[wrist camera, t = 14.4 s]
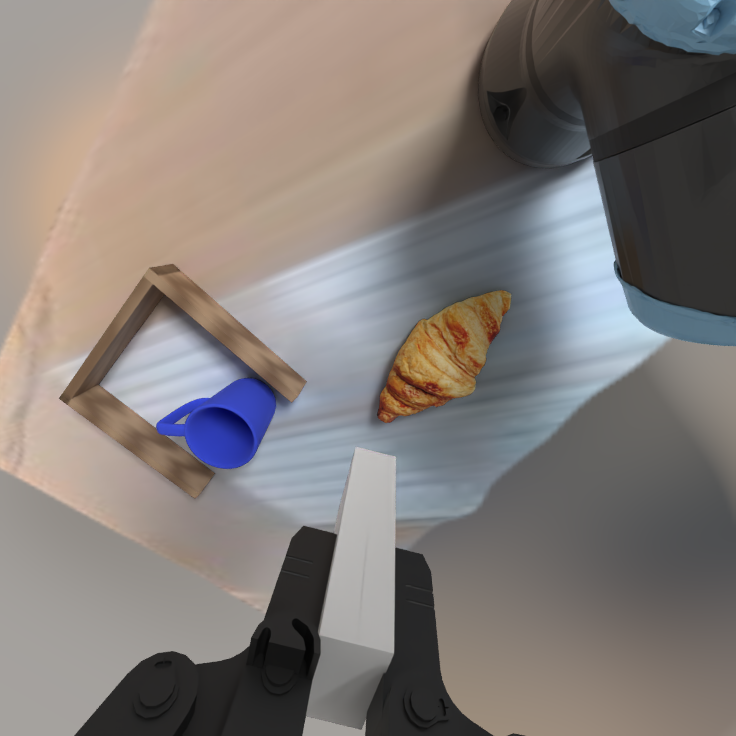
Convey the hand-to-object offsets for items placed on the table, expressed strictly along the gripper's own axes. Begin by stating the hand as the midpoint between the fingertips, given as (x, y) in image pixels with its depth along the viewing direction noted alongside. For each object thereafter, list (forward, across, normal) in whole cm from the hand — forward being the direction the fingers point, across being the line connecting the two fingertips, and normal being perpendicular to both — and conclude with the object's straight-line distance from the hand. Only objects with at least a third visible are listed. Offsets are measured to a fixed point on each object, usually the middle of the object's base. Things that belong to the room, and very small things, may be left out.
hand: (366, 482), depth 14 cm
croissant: (+33, +8, -4) cm, 34 cm away
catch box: (+32, -22, -17) cm, 43 cm away
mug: (+33, -16, -17) cm, 40 cm away
